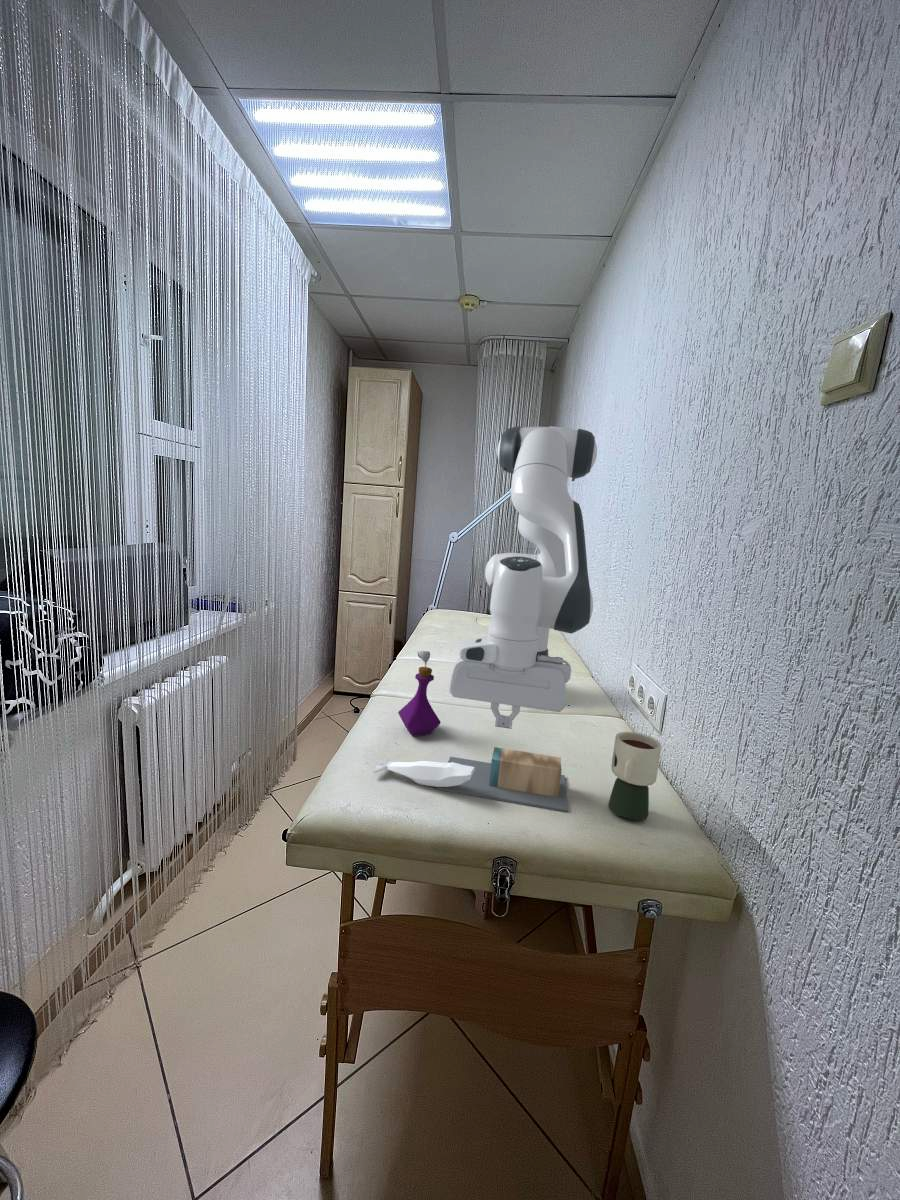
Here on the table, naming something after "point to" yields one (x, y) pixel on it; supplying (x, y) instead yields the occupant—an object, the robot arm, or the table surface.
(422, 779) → the white fish figurine
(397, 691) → the table surface
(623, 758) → the character mug
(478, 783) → the rubber mat
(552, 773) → the oak block
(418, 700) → the perfume bottle
